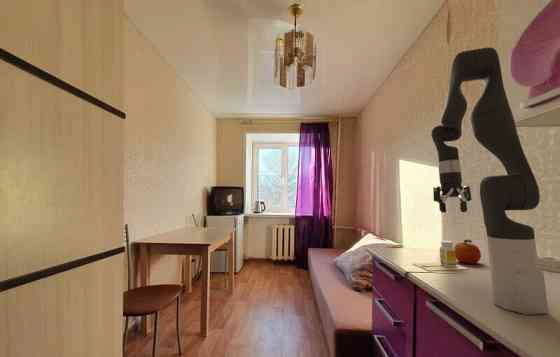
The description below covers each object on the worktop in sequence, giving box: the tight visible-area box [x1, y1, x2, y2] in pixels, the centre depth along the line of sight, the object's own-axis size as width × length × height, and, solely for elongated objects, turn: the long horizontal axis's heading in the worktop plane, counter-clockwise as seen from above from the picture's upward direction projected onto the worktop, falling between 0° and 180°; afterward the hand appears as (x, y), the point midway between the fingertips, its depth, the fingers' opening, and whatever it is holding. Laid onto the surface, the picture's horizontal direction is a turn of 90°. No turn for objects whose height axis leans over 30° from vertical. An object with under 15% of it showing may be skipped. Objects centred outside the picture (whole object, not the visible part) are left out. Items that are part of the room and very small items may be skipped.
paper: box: [412, 261, 470, 272], centre depth 103 cm, size 11×16×1 cm
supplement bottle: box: [439, 240, 457, 267], centre depth 104 cm, size 5×5×10 cm
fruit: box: [453, 239, 482, 265], centre depth 109 cm, size 10×10×10 cm
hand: (453, 212), depth 102 cm, fingers open, 8 cm apart
